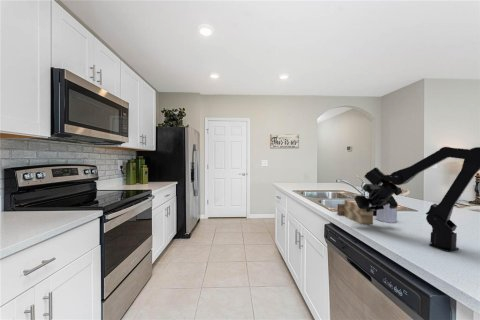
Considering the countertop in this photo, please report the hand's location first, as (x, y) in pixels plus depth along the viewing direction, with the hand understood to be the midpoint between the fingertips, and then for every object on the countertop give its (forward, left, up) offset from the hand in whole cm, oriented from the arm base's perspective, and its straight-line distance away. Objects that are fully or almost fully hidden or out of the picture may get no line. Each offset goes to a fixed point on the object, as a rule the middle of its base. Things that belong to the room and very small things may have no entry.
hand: (367, 211), depth 114 cm
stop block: (+17, -5, -6) cm, 19 cm away
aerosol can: (+13, -23, -7) cm, 27 cm away
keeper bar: (+8, -2, -7) cm, 10 cm away
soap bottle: (+2, -17, -7) cm, 18 cm away
